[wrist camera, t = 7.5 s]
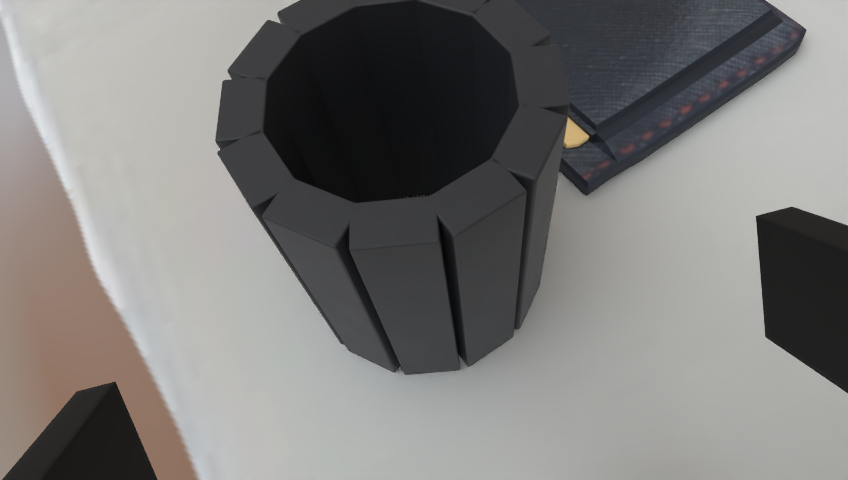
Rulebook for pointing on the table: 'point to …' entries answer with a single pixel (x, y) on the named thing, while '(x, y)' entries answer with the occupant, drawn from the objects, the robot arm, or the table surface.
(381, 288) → the ribbed pencil cup
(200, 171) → the table surface
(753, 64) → the wallet
